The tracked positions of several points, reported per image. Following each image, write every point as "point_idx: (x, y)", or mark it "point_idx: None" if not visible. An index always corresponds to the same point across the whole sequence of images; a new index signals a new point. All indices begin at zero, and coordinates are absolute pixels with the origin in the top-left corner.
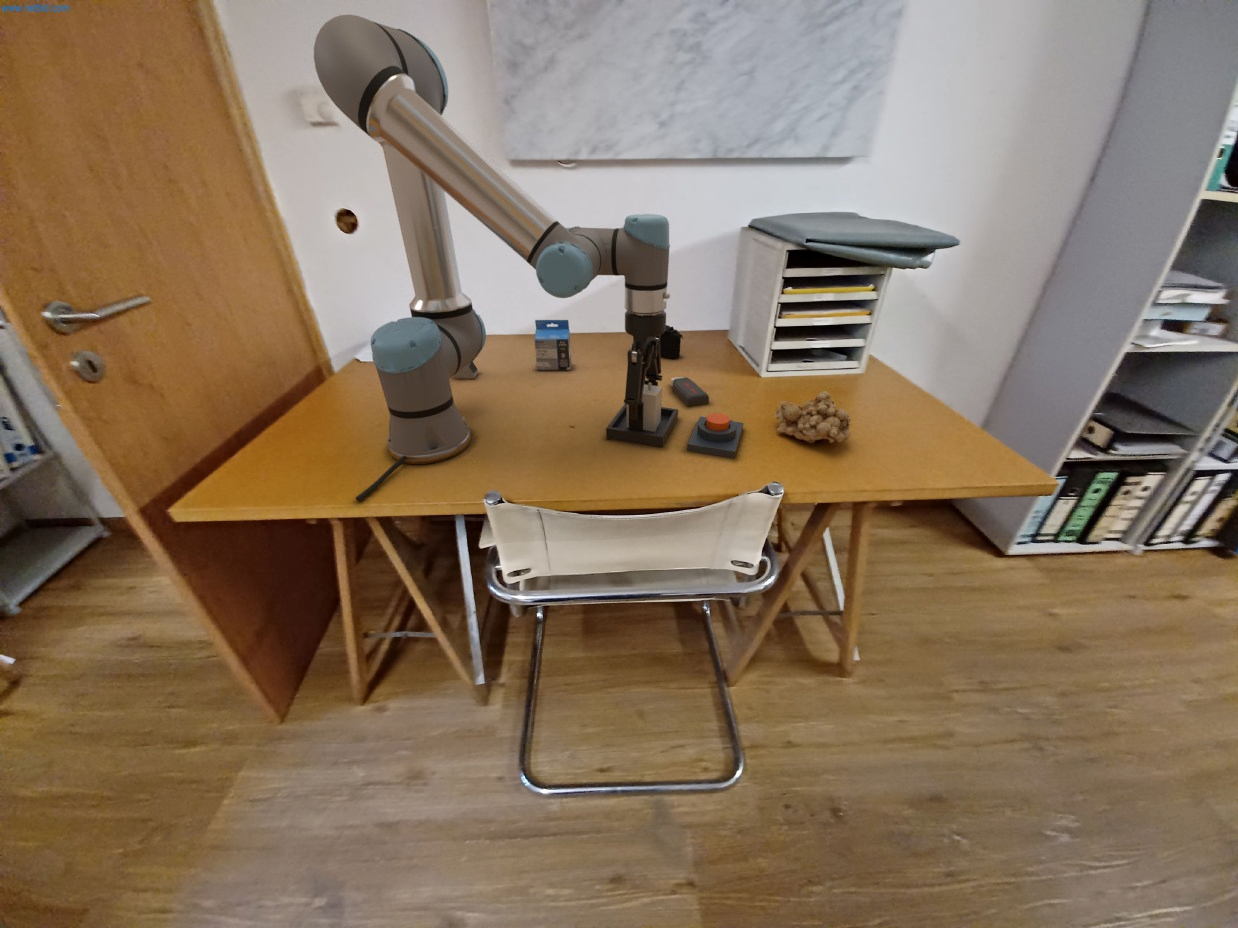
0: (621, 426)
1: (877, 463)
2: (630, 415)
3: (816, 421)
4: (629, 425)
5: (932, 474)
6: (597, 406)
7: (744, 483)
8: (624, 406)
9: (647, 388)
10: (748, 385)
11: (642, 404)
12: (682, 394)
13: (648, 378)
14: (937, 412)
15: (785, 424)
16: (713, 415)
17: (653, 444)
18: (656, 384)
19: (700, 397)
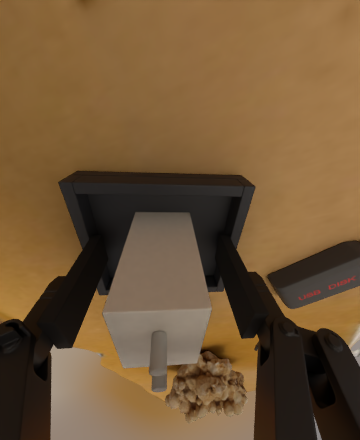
0: (135, 199)
1: (168, 380)
2: (44, 291)
3: (186, 397)
4: (83, 249)
5: (164, 391)
6: (286, 52)
7: (82, 343)
8: (221, 191)
9: (168, 348)
10: (338, 317)
11: (58, 346)
12: (302, 278)
13: (269, 329)
14: (255, 388)
15: (199, 367)
16: None
17: None
18: (240, 331)
19: (283, 301)
